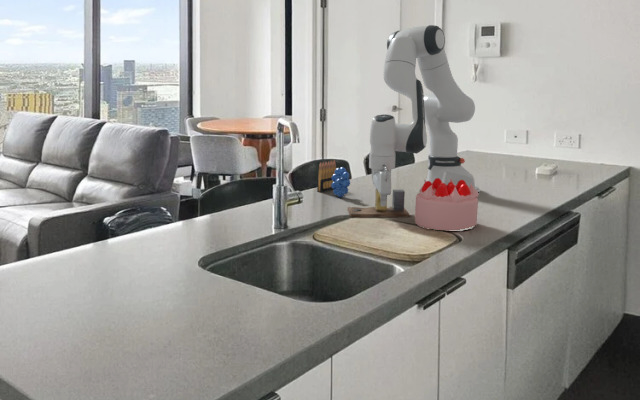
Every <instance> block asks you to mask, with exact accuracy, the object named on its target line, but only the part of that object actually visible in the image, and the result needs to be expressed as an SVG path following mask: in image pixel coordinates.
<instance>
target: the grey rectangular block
mask: <svg viewBox="0 0 640 400" xmlns="http://www.w3.org/2000/svg"><path fill="white" fill-rule="evenodd" d="M405 194H406V193H405V190H404V189H392V201H391V202H392V203H391V205H392V206H391V207H392V210H393V211H394V212H404V208H405Z"/></svg>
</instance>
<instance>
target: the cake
mask: <svg viewBox="0 0 640 400" xmlns="http://www.w3.org/2000/svg"><path fill="white" fill-rule="evenodd" d="M426 180H427V179H424V183H423V185H422V186H421V188H420V189H419V192H418V193H417V194H416V195H415V207H414V208H415V210H414V211H415V212H414V214H415V215H414V222H415V225H416V224H417V225H416V226H418V227H419V226H420V228H422V227H424V228H423V229H425V228H429V229H436V230H446V231H449V230H460V229H465V228H469V227H472V226H475V225H476V226H477V222H478V208H479V206H478V204H479V198H478V197H479V196H480V192H479V193H478V191H477V190H476V189H475V188H474V187H473V186H472V183H471V185H470V187H468V185H467V184H466V182H465V181H464V180H460V181H459V182H458V183H457V185H455V184H454V183H453V181H452V179H451V178H450V182H449V183H448V184H447V186H446V184H445V183H442V181H441V179H439V178H436V179H435V180H434V181H433V183H431V182H430V181H426ZM429 229H428V230H429Z"/></svg>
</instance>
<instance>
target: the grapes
mask: <svg viewBox="0 0 640 400" xmlns="http://www.w3.org/2000/svg"><path fill="white" fill-rule="evenodd" d="M334 173H335V174H334V175H333V176H332V180H333V181H334V182H333V183H332V184H331V187H332V188H333V191H332V193H333V195H334V196H337V197H338V198H339V199H340V198H343V197H344V196H345V195H346V194H348V192H349V188H348V187H349V186H350V185H351V179H350V173H349V172H348V171H347V169H346V168H345V167H343V166H341V167H340V168H339V167H336V170H335V172H334Z"/></svg>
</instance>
